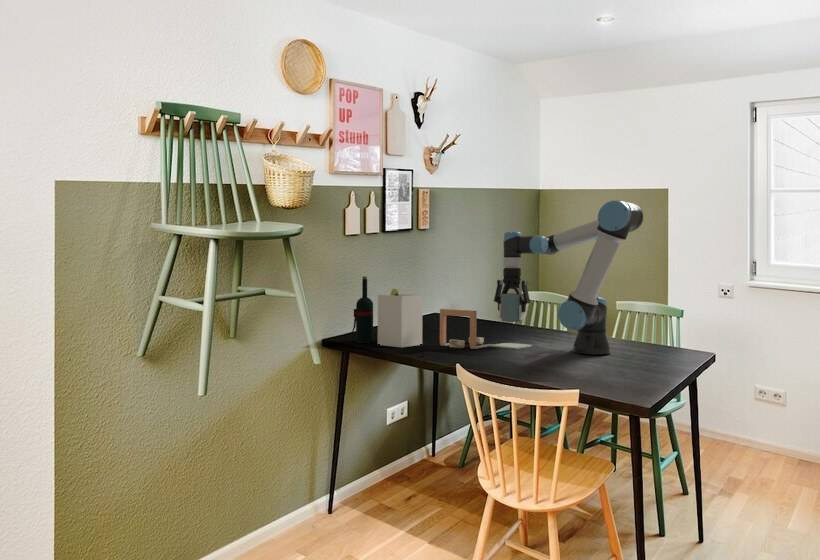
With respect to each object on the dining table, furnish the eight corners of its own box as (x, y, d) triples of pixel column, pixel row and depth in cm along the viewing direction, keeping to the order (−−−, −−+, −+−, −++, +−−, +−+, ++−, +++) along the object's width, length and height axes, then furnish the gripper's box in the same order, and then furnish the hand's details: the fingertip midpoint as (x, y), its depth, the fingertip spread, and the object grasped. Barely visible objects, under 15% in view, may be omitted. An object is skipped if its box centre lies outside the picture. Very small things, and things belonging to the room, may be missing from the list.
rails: (494, 345, 282) (494, 344, 282) (474, 348, 271) (474, 347, 271) (460, 342, 294) (460, 341, 294) (440, 345, 283) (440, 344, 283)
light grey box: (422, 344, 286) (422, 295, 285) (401, 347, 275) (401, 295, 274) (398, 342, 295) (398, 294, 294) (377, 344, 284) (377, 294, 284)
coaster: (532, 346, 281) (532, 344, 281) (516, 349, 271) (516, 347, 271) (506, 343, 289) (506, 342, 289) (490, 346, 279) (490, 345, 279)
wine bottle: (355, 341, 296) (355, 276, 296) (375, 342, 293) (376, 276, 292) (348, 343, 289) (348, 276, 288) (369, 344, 286) (369, 276, 285)
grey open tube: (495, 320, 280) (496, 293, 280) (509, 319, 288) (509, 292, 287) (514, 322, 273) (515, 294, 273) (528, 321, 280) (528, 293, 280)
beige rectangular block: (483, 344, 287) (483, 337, 287) (460, 348, 274) (460, 341, 274) (472, 343, 291) (472, 336, 291) (449, 346, 277) (449, 339, 277)
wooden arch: (476, 346, 272) (476, 310, 272) (473, 346, 270) (473, 311, 270) (442, 343, 284) (442, 308, 283) (439, 343, 282) (439, 309, 282)
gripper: (538, 267, 275) (538, 320, 276) (495, 267, 290) (494, 317, 290) (530, 267, 270) (529, 321, 270) (486, 267, 284) (485, 318, 284)
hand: (511, 319), depth 280 cm, fingers closed on grey open tube, 9 cm apart
